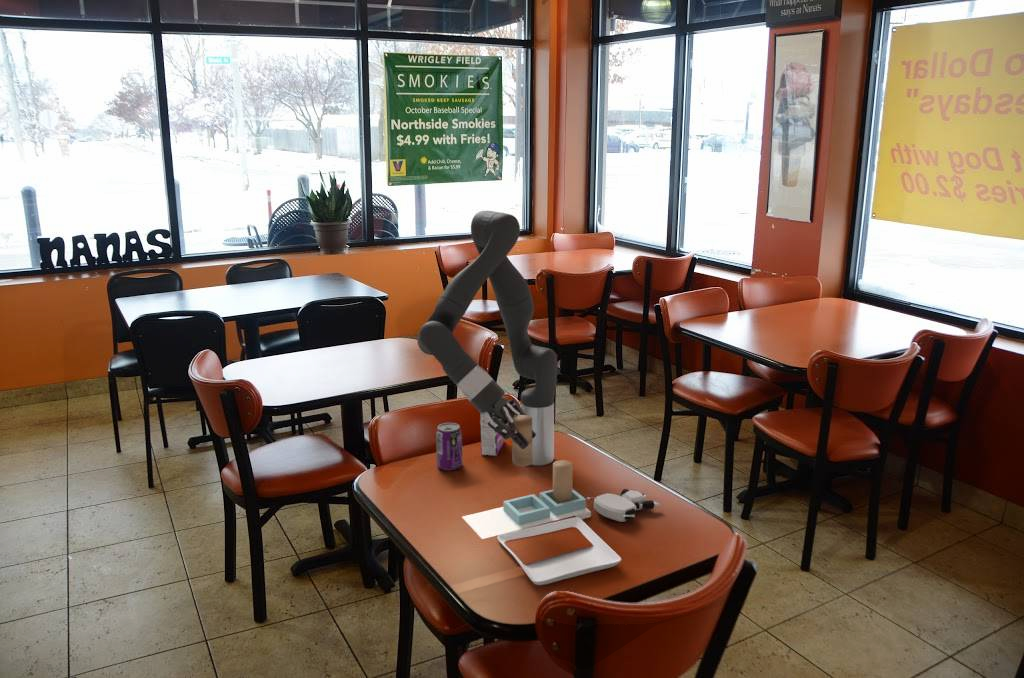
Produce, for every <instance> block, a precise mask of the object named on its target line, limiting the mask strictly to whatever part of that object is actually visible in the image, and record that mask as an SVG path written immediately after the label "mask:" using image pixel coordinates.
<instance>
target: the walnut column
mask: <svg viewBox="0 0 1024 678" xmlns="http://www.w3.org/2000/svg"><path fill="white" fill-rule="evenodd" d="M512 419H513V421H514V426H515V427H516V429H517V430H518V432H520V433H521V434H522V435H523V437H524V438H525V439H526V440H527V441H528V442H529V445H528V446H527V447H526V448H525V449H521V448H520V446H519V445H518V444H517V443H516V442H515V441H514V440H513V439H512V438H511V459H512V461H511V462H512V464H513V465H515V466H518V467H527V466H531V465H530V464H532V462H533V459H532V418H531V417H530V416H527V415H521V414H520V415H517V416H514V417H512Z"/></svg>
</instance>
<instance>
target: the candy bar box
mask: <svg viewBox="0 0 1024 678" xmlns="http://www.w3.org/2000/svg"><path fill="white" fill-rule="evenodd" d="M502 397H503V398H504V395H503V396H502ZM490 420H491V418H490V416H489V414H488V413H487V412H485V413H484V414H482V413H480V412H479V424H480V451H481V452H480V453H481V456H486V455H488V456H490V457H497V456H498V455H499V452H500V451H501V449H502V447H503V445H504V444H505V441H506V439H504V438H503V437H502V436H500V435H499V434H498V433H497V432H496V431H494V430H493V429H492V428H491V427H490V426H488V422H489V421H490ZM503 432H504V433H505V431H503Z"/></svg>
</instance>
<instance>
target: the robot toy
mask: <svg viewBox="0 0 1024 678" xmlns="http://www.w3.org/2000/svg"><path fill="white" fill-rule="evenodd" d="M586 500H593V509H594V510H595V511H596V512H597V513H598V514H599V515H601V516H603V517H604V518H607V519H610V520H614V521H616V522H620V523H623V522H626V521H628V520H631V519H634V518H635V517H636V516H637V511H641V510H642V509H643V508H644V509H646V510H654V508H655V507H656V508H658V507H660V506H661V505H660V503H659V502H658V501H653V500H652V499H651V500H647V494H644V493H642V492H641V491H636V490H631V489H628V488H624V489H622V490H621V492H620V495H618V494H615V493H608V492H607V493H603V494H599V495H598V496H596V497H586ZM636 510H637V511H636Z"/></svg>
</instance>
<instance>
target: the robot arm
mask: <svg viewBox="0 0 1024 678" xmlns="http://www.w3.org/2000/svg"><path fill="white" fill-rule="evenodd" d="M520 226H521V225H520V222H519V220H518V218H517V217H516V216H514V215H513V214H509V213H506V212H497V211H493V210H481V211H478V212H476V213H475V214H474V215H473V218H472V220H471V224H470V234H471V238H472V241H473V245H474V246H475V248H476V250H477V252H478V256H477V257H476V258H475V259H474V260H473V261H472V262H470V263H469V264H468V265H466V266H465V267H464V268H463V269H462V270H461V271H459V272H458V273H456V274H455V276H454V277H453V278H452V279H451V280H450V281H449V283H448V284H447V286H446V287H445V289H444V290H443V292H442V293H441V295H440V297H439V298H438V301H437V302H436V305H435V307H434V310H433V312H431V313H432V314H431V315H430V316H429V318H428V320H427V321H426V322H425V323H424V324H423V325H421V327H420V330H419V333H418V335H417V346H418V349H419V350H420V351H421V352H422V353H423V354H425V355H429V356H433V357H434V358H435V360H436V361H438V363H439V364H440V365H441V367H442V370H443V372H444V373H445V374H446V376H447V377H448V378H449V379H450V380H451V381H452V382H453V384H455V385H456V387H457V388H458V389H459V390H460V392H461V393H462V395H464V397H465V398H466V399H467V400H468V401H469V402H470V403H471V404H472V405H473V406H474V407H475V408H476V409H477V411H478V412H479V414H480V413H482V414H484V413H485V412H487V413H488V414H489V416H490V418H491V420H490V421H489V422H488V426H490V427H491V428H492V429H493V430H494V431H496V432H497V433H498V434H499V435H500V436H502V437H503V438H504V439H505V441H506V440H508V439H511V440H512V439H513V440H514V441H515V442H516V443H517V444H518V445H519V446H520V448H521V449H525V448H526V447H527V446H528V445H529V442H528V441H527V440H526V439H525V438H524V437H523V435H522V434H521V433H520V432H518V430H517V429H516V427H515V426H514V421H513V419H512V417H514V416H517V415H527V416H530V417H531V418H532V459H533V462H532V464H530V465H529V466H546V465H548V464H551V463H552V462H553V461H555V460H554V459H555V454H554V453H555V438H554V437H555V396H556V391H557V380H558V378H557V377H558V357H557V353H556V352H555V351H554V350H553V349H551V348H548V347H544V346H538V345H534V344H533V343H532V342H531V339H530V336H529V332H528V331H529V330H528V328H529V326H530V323H531V321H532V318H533V316H534V311H535V304H534V300H533V299H534V298H533V296H532V293H531V290H530V287H529V284H528V282H527V281H526V278H524V276H523V275H522V273H520V271H519V270H518V269H517V268H516V266H515V265H514V264H513V262H511V260H510V259H509V257H508V254H509V253H510V252H511V251H512V249H513V248H514V246H515V245H516V244H517V242H518V239H519V237H520V233H521V227H520ZM488 279H489V282H490V285H491V288H492V290H493V294H494V297H495V302H496V305H497V308H498V309H499V310H498V311H499V314H500V316H501V318H502V321H503V324H504V325H503V326H504V329H505V331H506V332H505V333H506V335H507V339H508V343H509V348H510V352H511V353H510V354H511V358H512V362H513V366H514V369H515V371H516V373H517V375H519V376H520V377H523V378H525V379H529V380H530V379H531V380H535V384H534V385H535V386H534V387H530V388H527V389H525V390H523V391H522V392H521V394H520V405H519V403H518V402H517V401H516V400H515V398H511V399H509V400H507V399H505V398H504V395H505V393H506V392H505V390H504V389H503V388H502V387H501V386H500V384H498V383H497V382H496V380H494V379H493V377H491V375H490V374H489V373H488V372H487V371H486V370H485V369H484V368H482V367H481V366H480V365H479V364H478V363H477V362H476V360H474V359H473V358H472V357H471V355H470V354H469V353H468V352H466V351H465V350H464V348H463V347H462V345H461V343H460V342H459V341H458V339H457V338H456V336H455V335H454V334H453V332H454V331H455V329H456V327H457V326H458V324H459V322H460V321H461V319H463V317H464V316H465V314H466V312H467V310H468V309H469V307H470V305H471V304H472V302H473V301H474V299H475V297H476V296H477V294H478V292H479V291H480V289H481V288H482V287H483V285H484V284H485V283H486V282H487V280H488ZM502 396H503V397H502ZM503 431H504V432H503Z"/></svg>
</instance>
